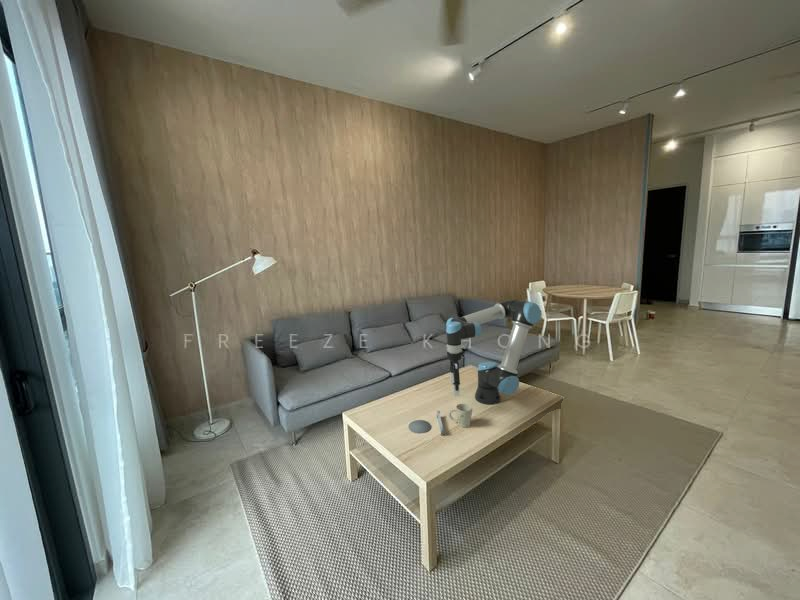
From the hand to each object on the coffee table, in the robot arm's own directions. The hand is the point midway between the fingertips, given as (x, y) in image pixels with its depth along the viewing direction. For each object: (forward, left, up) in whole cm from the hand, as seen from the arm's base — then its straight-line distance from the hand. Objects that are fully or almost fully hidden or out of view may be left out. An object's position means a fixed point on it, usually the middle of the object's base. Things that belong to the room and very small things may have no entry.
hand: (454, 389), depth 168 cm
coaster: (+19, +2, -19) cm, 27 cm away
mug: (-3, +1, -19) cm, 20 cm away
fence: (+8, +2, -19) cm, 21 cm away
